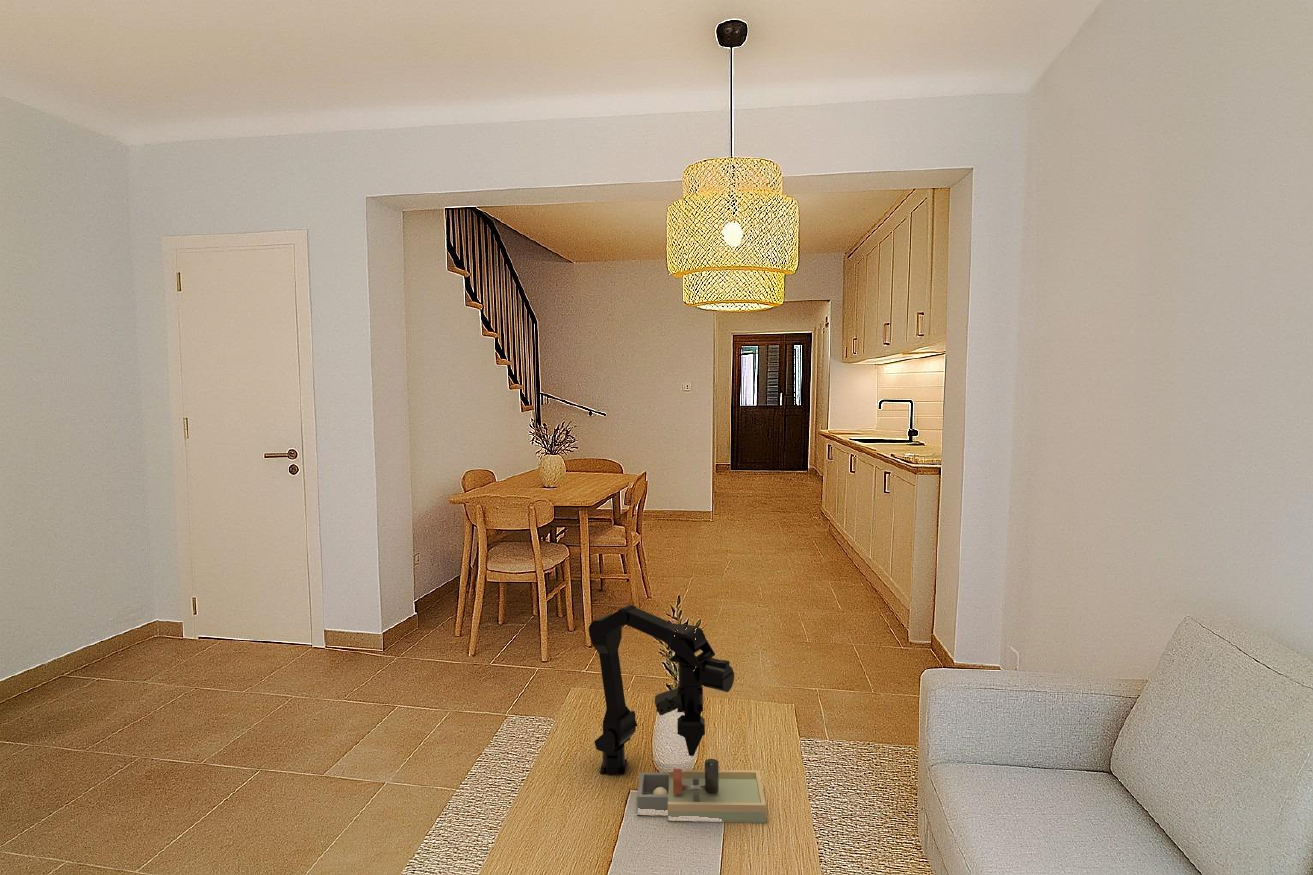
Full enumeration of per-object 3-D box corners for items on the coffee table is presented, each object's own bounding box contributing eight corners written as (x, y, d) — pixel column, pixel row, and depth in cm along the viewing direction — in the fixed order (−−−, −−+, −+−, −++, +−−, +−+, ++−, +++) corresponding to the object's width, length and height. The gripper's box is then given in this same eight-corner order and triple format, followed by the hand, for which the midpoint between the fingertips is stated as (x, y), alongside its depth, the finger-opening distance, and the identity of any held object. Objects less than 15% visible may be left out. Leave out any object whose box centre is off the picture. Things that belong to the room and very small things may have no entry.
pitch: (669, 785, 168) (669, 768, 168) (759, 786, 167) (759, 769, 167) (667, 821, 154) (667, 803, 154) (765, 822, 153) (765, 804, 153)
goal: (640, 790, 167) (640, 772, 166) (669, 790, 166) (668, 772, 166) (637, 815, 157) (637, 796, 156) (668, 815, 156) (667, 797, 156)
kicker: (673, 785, 163) (673, 757, 162) (718, 786, 162) (718, 758, 162) (673, 794, 159) (672, 766, 159) (719, 795, 159) (718, 766, 158)
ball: (667, 782, 163) (669, 797, 163) (652, 784, 163) (654, 798, 163) (666, 791, 159) (668, 806, 160) (651, 793, 160) (653, 808, 160)
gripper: (657, 665, 172) (658, 725, 173) (654, 699, 153) (655, 766, 154) (702, 665, 171) (703, 726, 172) (704, 699, 153) (705, 766, 154)
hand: (691, 745), depth 163 cm, fingers open, 9 cm apart
